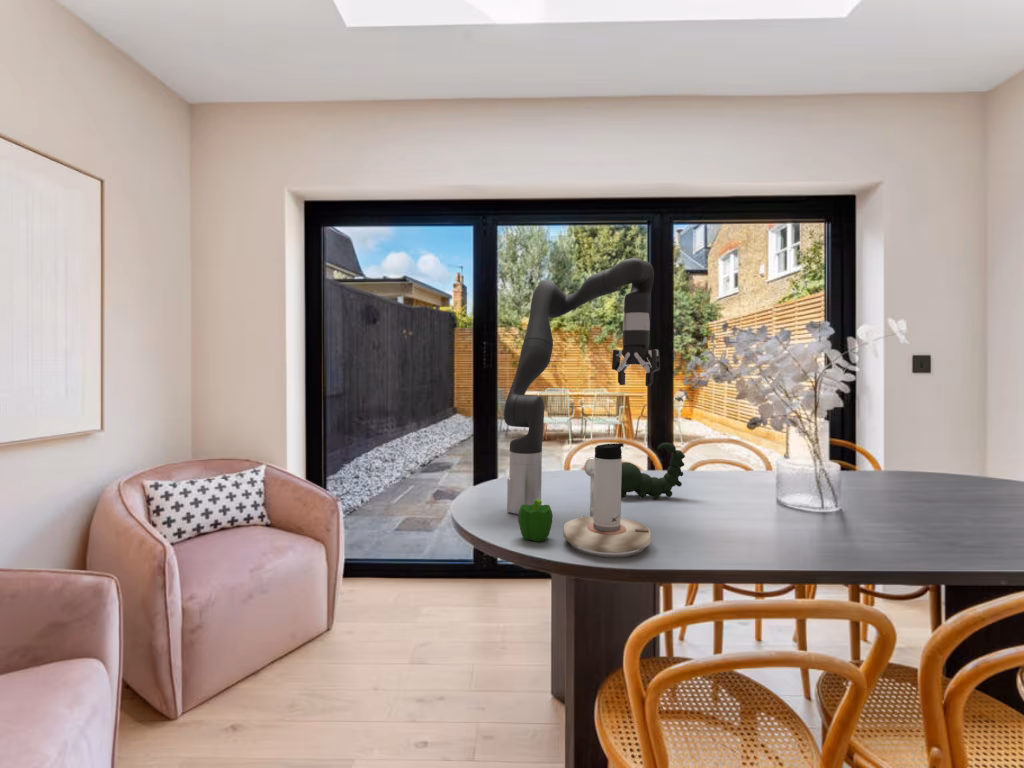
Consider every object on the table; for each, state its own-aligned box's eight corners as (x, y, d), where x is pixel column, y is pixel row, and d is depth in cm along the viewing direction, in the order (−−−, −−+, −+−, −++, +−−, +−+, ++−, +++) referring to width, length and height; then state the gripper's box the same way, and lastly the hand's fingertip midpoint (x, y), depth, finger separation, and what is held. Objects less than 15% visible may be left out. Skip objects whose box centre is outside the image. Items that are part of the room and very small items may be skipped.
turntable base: (565, 553, 120) (566, 547, 120) (573, 530, 137) (574, 525, 137) (644, 560, 116) (644, 554, 116) (642, 536, 133) (642, 530, 133)
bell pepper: (518, 532, 135) (518, 493, 134) (551, 533, 134) (552, 493, 134) (517, 544, 126) (518, 501, 126) (552, 545, 126) (553, 502, 126)
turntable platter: (558, 547, 119) (558, 537, 119) (568, 521, 138) (568, 512, 138) (652, 555, 115) (652, 544, 115) (649, 527, 134) (649, 518, 134)
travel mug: (621, 533, 122) (623, 445, 122) (592, 531, 124) (594, 444, 123) (621, 525, 128) (623, 441, 128) (593, 523, 130) (595, 440, 129)
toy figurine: (674, 499, 176) (597, 491, 177) (681, 442, 175) (604, 434, 176) (682, 507, 167) (601, 498, 168) (689, 446, 166) (608, 438, 167)
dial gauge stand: (580, 530, 137) (581, 459, 137) (583, 520, 146) (584, 454, 145) (604, 531, 136) (605, 461, 135) (605, 522, 144) (606, 455, 144)
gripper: (665, 329, 153) (663, 386, 154) (621, 330, 163) (620, 384, 164) (652, 328, 148) (651, 387, 148) (607, 329, 157) (606, 385, 158)
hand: (634, 385), depth 156 cm, fingers open, 8 cm apart
